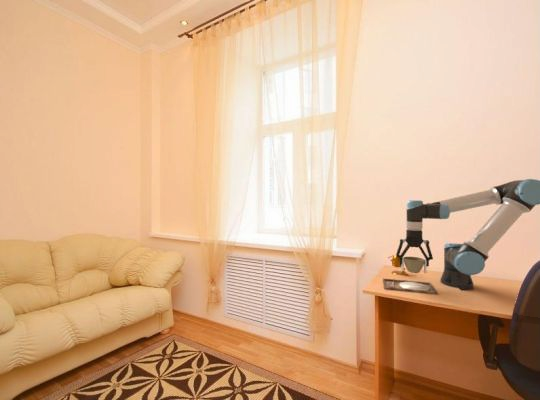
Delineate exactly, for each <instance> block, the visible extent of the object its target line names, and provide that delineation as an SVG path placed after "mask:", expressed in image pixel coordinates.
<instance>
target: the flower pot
mask: <svg viewBox="0 0 540 400" xmlns="http://www.w3.org/2000/svg"><path fill="white" fill-rule="evenodd" d="M403 258H404V267H405V269H406V270H407V271H408V272H409V273H412V274H419V273H420V272H421V271H422V269H423V268H424V262H425V260H426V259H425V258H421V257H418V256H403Z"/></svg>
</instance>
